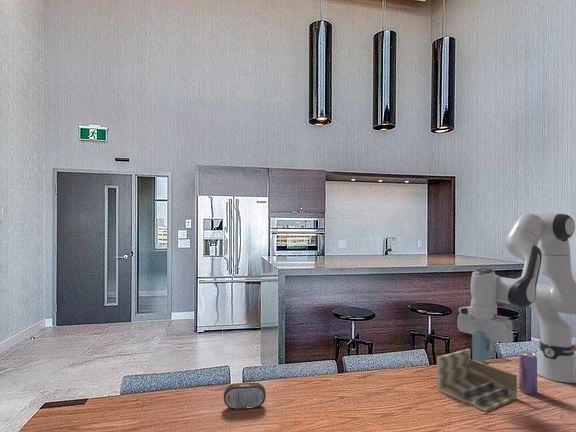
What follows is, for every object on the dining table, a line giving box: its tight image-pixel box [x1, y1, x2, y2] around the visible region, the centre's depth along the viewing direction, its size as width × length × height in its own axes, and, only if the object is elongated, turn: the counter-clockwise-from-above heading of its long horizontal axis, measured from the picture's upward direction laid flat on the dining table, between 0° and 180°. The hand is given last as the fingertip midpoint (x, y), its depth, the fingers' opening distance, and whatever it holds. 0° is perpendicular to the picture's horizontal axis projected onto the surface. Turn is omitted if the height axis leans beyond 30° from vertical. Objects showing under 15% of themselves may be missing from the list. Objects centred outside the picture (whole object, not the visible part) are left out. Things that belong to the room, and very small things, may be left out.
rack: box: [436, 348, 518, 413], centre depth 143 cm, size 20×20×13 cm
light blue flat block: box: [471, 332, 497, 363], centre depth 140 cm, size 10×3×10 cm, turn 120°
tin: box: [223, 382, 267, 409], centre depth 132 cm, size 15×3×8 cm, turn 98°
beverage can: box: [518, 350, 538, 396], centre depth 146 cm, size 6×6×15 cm
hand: (484, 348), depth 140 cm, fingers closed on light blue flat block, 3 cm apart
